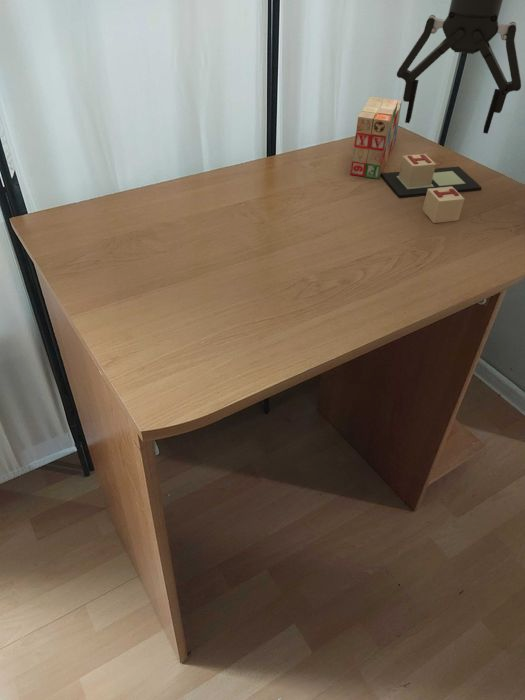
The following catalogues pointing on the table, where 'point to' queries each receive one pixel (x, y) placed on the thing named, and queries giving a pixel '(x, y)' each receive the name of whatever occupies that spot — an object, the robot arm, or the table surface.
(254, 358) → the table surface
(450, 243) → the table surface
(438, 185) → the word mat
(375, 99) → the stack of blocks
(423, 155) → the cream cube
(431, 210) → the wooden letter block
